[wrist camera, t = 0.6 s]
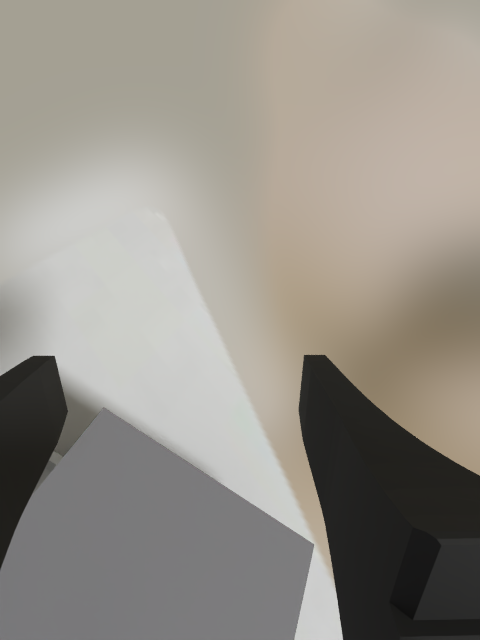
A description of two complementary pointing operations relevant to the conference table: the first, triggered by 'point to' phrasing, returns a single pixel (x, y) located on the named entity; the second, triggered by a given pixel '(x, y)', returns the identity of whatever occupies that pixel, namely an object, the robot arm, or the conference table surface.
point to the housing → (146, 551)
